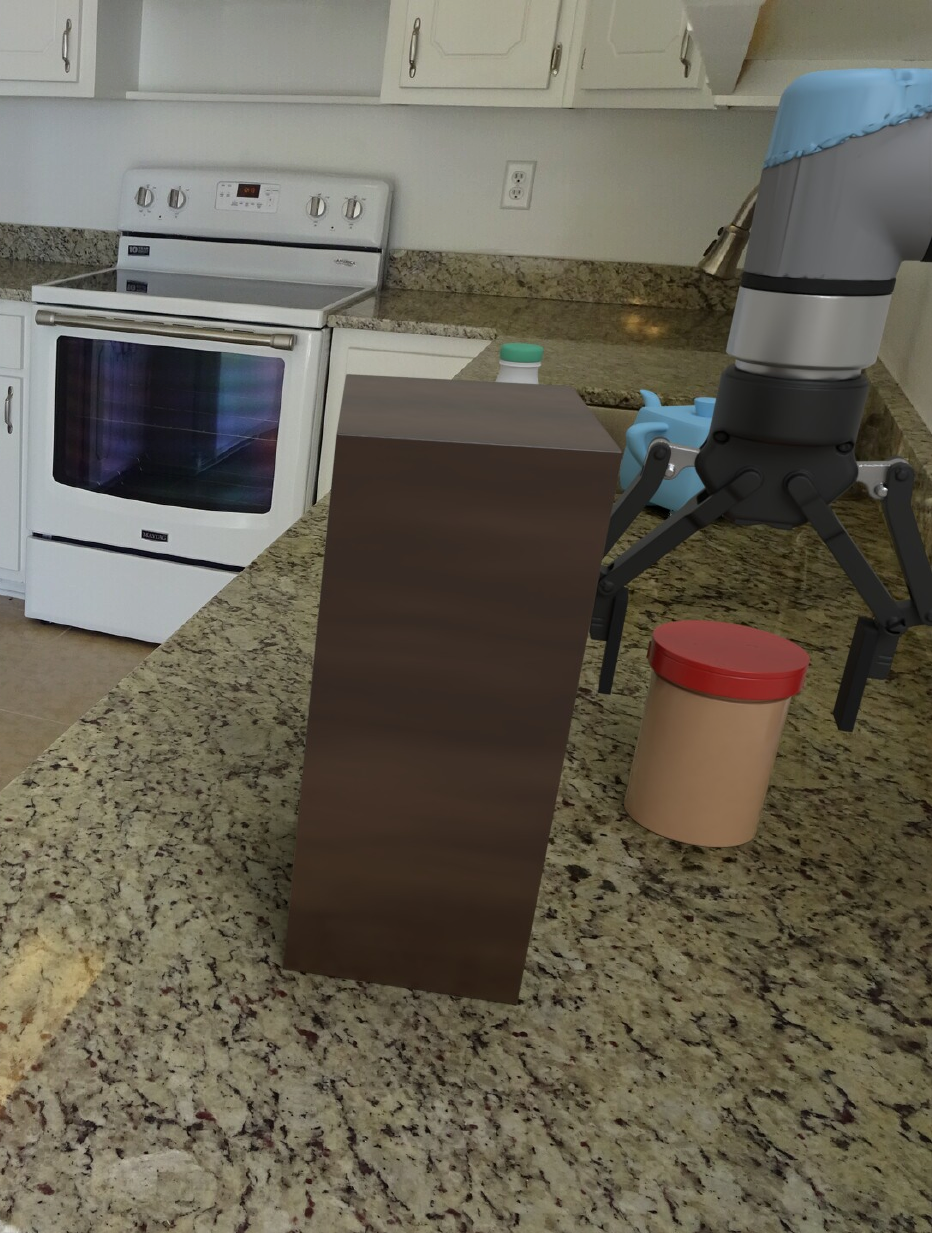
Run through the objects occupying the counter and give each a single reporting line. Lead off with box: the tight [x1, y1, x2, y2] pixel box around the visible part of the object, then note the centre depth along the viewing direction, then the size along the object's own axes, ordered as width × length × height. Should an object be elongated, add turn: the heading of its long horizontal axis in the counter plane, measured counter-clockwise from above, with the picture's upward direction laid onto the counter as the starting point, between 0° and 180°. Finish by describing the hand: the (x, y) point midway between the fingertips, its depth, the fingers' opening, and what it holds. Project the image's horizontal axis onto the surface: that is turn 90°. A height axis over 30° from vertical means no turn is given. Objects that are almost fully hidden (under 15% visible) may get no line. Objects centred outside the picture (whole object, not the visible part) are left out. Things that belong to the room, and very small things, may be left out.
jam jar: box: [623, 668, 793, 848], centre depth 80 cm, size 8×8×12 cm
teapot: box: [619, 389, 716, 515], centre depth 151 cm, size 18×16×14 cm
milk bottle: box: [494, 342, 544, 384], centre depth 145 cm, size 8×8×20 cm
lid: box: [646, 619, 811, 700], centre depth 78 cm, size 9×9×2 cm
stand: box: [282, 373, 624, 1005], centre depth 67 cm, size 16×12×29 cm
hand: (719, 704), depth 79 cm, fingers open, 13 cm apart
